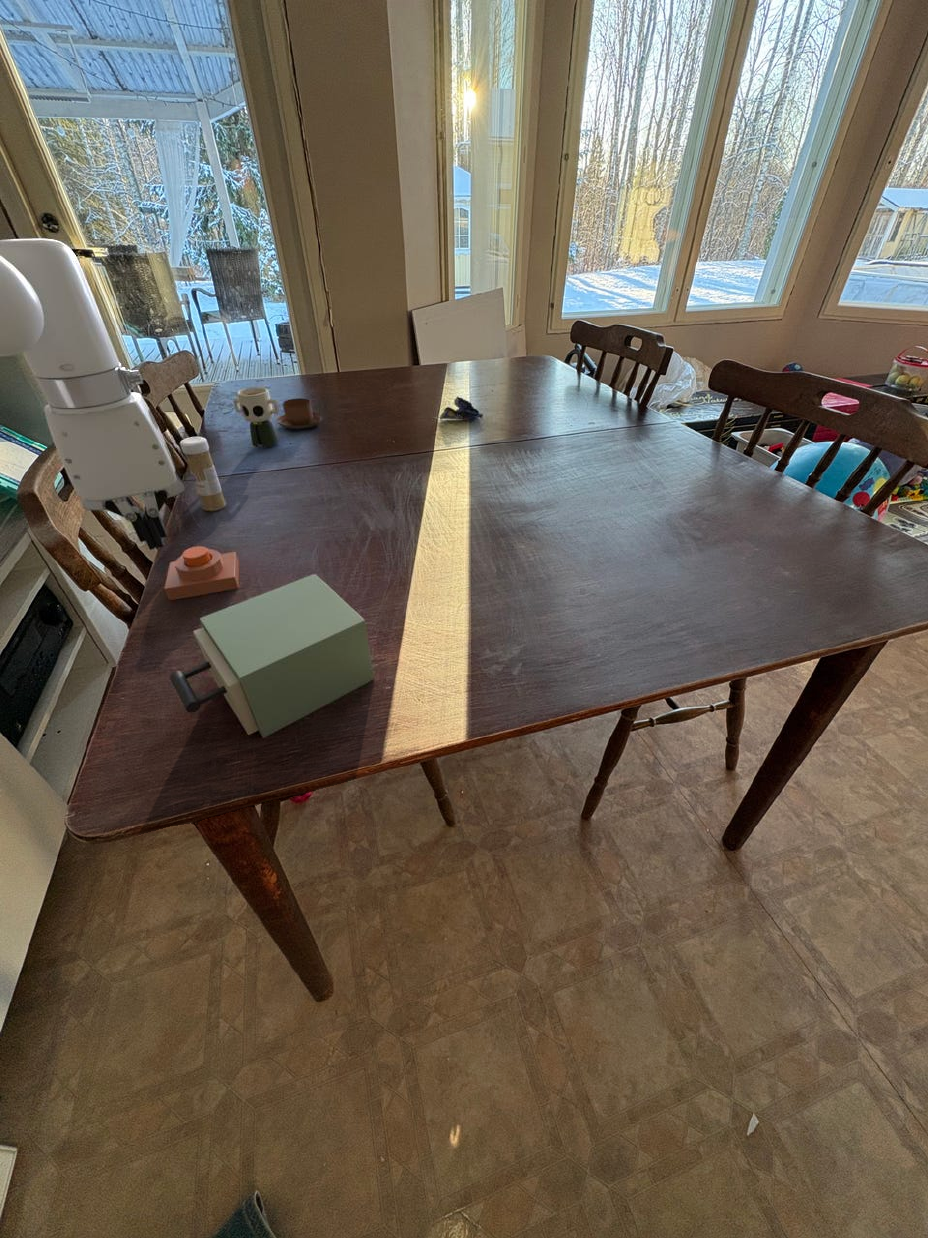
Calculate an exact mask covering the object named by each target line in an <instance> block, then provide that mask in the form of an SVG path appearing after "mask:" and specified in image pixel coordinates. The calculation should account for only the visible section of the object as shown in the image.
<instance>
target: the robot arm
mask: <svg viewBox="0 0 928 1238" xmlns="http://www.w3.org/2000/svg"><path fill="white" fill-rule="evenodd" d="M91 290H92V289H91V287H90V286H89V284H88V281H87V278H86V275H85V273H84V271H83V268H82V265H81V264H80V261H79V259H78V257H77V256H76V254H75V253H74V251H73V250H72V249H71V248H70V247H69V246H68V245H67V244H65V243H63V242H62V241H59V240H56V239H51V238H13V239H12V238H11V239H0V357H11V356H12V357H13V356H16V355H20V354H23V357H24V358H25V360H26V363H27V365H28V366H29V369H30V370H31V372H32V375H33V377H34V378H35V380H36V383H37V384H38V386H39V388H40V390H41V393H42V394H43V396H44V398H45V400H46V402H47V404H46V405H45V406H43V407H44V408H43V409H44V414H45V419H46V423H47V426H48V430H49V432H50V436H51V438H52V441H53V443H54V446H55V448H56V451H57V453H58V456H59V458H60V461H61V464H62V465H63V468H64V470H65V473H66V475H67V477H68V480H69V481H70V483H71V485H72V487H73V489H74V490H75V493H76V494H77V495H78V496H79V498H80V503H81V507H82V509H84V510H85V511H108V512H110V513H113V514H115V515H117V516H119V517H122V518H124V520H126V521H127V522H129V523H131V525H132V528H133V529H134V531H135V534H136V536H137V537H138V540H139V542H140V543H143V542H145V543H146V545H147V547H148V549H149V550H150V551H151V550H155V549H156V548H164V547H165V543H164V538H165V537H168V532H167V529H166V526H165V524H164V522H163V520H162V517H161V515H160V511H161V510H162V508H163V507H164V504H165V503H166V502H167V500H168V499H170V498H173V497H175V496H177V495H179V494H183V493H184V492H185V490H186V487H185V483H184V481H183V480H182V479H181V478H180V476H179V474H178V473H177V471H176V466H175V462H174V460H173V457H172V455H171V452H170V450H169V447H168V445H167V443H166V441H165V438H164V436H163V434H162V431H161V429H160V427H159V425H158V423H157V421H156V418H155V417H154V415H153V413H152V410H150V407H149V405H148V404H147V402H146V400H145V399H144V397H143V396H142V395H141V393H139V392H132V390H133V387H136V386H137V385H144V381H143V378H142V376H141V373H140V370H139V369H137V370H131V369H126V367H123V365H122V364H121V362H120V361H119V358H118V355H117V352H116V350H115V347H114V345H113V342H112V340H111V338H110V335H109V332H108V330H107V327H106V326H105V323H104V320H103V318H102V315H101V313H100V310H99V308H98V304H97V303H96V300H95V297H94V295H93V293H92V291H91ZM139 495H142V498H143V502H144V511H142V509H140V507H137V505H136V503H135V502H134V501H133V499H132V498H131V497H133V496H139Z"/></svg>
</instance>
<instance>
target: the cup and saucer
mask: <svg viewBox="0 0 928 1238" xmlns="http://www.w3.org/2000/svg"><path fill="white" fill-rule="evenodd" d="M281 404H282V408H283V412H284V414H282V415H281V416H279V417H278V418H277V419H276V422H277V424H278V425H279V426H281V427H282V428H285V429H290V430H304V429H309V428H312V427H315V426H317V425H319V424H320V423H321V422H322V420H323V416H322V415H321V414H320V413H318V412H314V411H313V407H312V403H311V399H308V398H300V397H299V398H290V399H287V400H284V401H283V402H282V403H281ZM313 416H314V417H313Z"/></svg>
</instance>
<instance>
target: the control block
mask: <svg viewBox="0 0 928 1238" xmlns="http://www.w3.org/2000/svg"><path fill="white" fill-rule="evenodd" d="M207 550H208V552H209V555H210V558H211V560H210V561H209V562H208V563H206V564H204V565H202V566H197V567H188V566H187V565H186V563H185V561H184V558H183V555H182V554H181V555H180V556H179V557H178V558H177V559H175V560H174V561H170V562H169V565H168V570H167V575H166V578H165V579H166V580H165V584H164V589H163V590H164V592H165V594H166V596H167V598H168V601H174V600H180V599H186V598H191V597H197V596H202V595H209V594H214V593H215V594H216V593H220V592H225V591H226V592H227V591H232V590H237V589H239V586H240V585H239V579H240V575H239V574H240V561H239V558H238V555H237V552H236V551H232V552H225V553H220V552H219V551H217V550H216V549H210V548H207Z"/></svg>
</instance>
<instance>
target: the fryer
mask: <svg viewBox="0 0 928 1238" xmlns="http://www.w3.org/2000/svg"><path fill="white" fill-rule="evenodd" d="M199 621H200V623H201V626H202V628H203V627H204V629H205V630H206V632H207V633H208V635H209V636H210V638H211V639H212V641H213V642H214V644H215V645H216V647H217V648H218V650H219V651H220V653H221V654H222V656H223V657H224V659H225V660H226V662H227V663H228V665H229V666H230V668H231V669H232V671H233V672H234V674H235V675H236V677H237V678H238V680H239V681H240V683H241V686H242V688H243V691H244V693H245V696H246V698H247V701H248V704H249V706H250V709H251V711H252V714H253V716H254V719H255V721H256V724H257V726H258V729H259V730H258V731H257V732H258V733H259V734H260V736H261V737H262V739H264V738H265V739H266V738H267V737H268V736H271V735H272V734H274V733H276V732H278V731H280V730H281V729H283V728H285V727H287V726H289V725H291V724H293V723H294V722H297V721H299V720H300V719H302V718H304V717H306V716H308V715H309V714H312V713H314V712H316V711H317V710H319V709H321V708H323V707H325V706H327V705H329V704H330V703H332V702H334V701H336V700H338V699H340V698H341V697H344V696H345V695H348V694H349V693H351V692H353V691H354V690H357V689H358V688H361V687H362V686H364V685H366V684H368V683H370V682H371V681H374V680H375V673H374V667H373V662H372V661H373V660H372V656H371V650H370V643H369V637H368V629H367V625H366V620H365V619H364V618H363V617H362V616H361V615H360V614H359V613H358V612H357V611H356V610H355V609H353V608H352V607H351V606H350V605H349V603H347V602H346V601H345V600H344V599H343V598H342V597H340V595H338V593H336V592H335V591H334V590H333V589H332V588H331V587H330V586H329V585H328V584H327V583H326V582H325V581H323V580H322V578H320V577H319V576H318V575H317V574H316V573H313V574H310V575H308V576H305V577H302V578H300V579H297V580H295V581H293V582H290V583H287V584H285V585H282V586H280V587H277V588H275V589H272V590H269V591H267V592H265V593H261V594H259V595H256V596H254V597H251V598H249V599H246V600H243V601H241V602H237V603H235V604H234V605H231V606H228V607H226V608H223V609H220V610H218V611H215V612H212V613H209V614H207V615H204V616H202V617H200V618H199Z"/></svg>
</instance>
